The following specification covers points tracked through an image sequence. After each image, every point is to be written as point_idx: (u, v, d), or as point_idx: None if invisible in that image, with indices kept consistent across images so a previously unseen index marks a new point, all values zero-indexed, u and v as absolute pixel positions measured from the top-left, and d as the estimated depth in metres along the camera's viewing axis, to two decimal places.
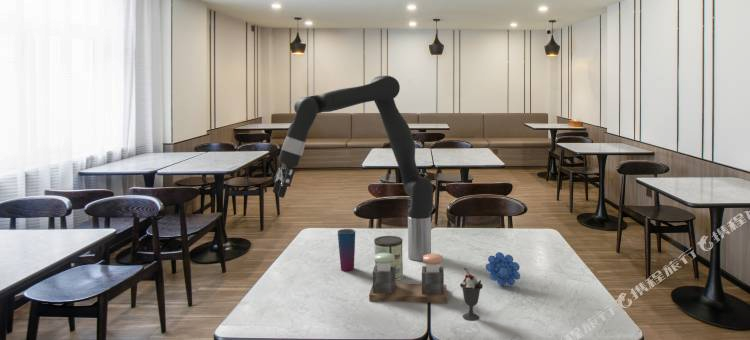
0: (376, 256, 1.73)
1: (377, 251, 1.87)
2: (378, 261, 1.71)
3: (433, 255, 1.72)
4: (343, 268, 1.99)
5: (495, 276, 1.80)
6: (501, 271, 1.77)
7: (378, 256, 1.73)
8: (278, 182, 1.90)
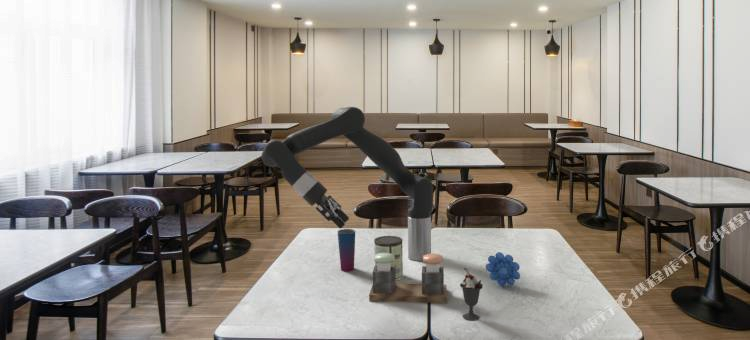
0: (376, 256, 1.73)
1: (377, 251, 1.87)
2: (378, 261, 1.71)
3: (433, 255, 1.72)
4: (343, 268, 1.99)
5: (495, 276, 1.80)
6: (501, 271, 1.77)
7: (378, 256, 1.73)
8: (338, 212, 1.77)
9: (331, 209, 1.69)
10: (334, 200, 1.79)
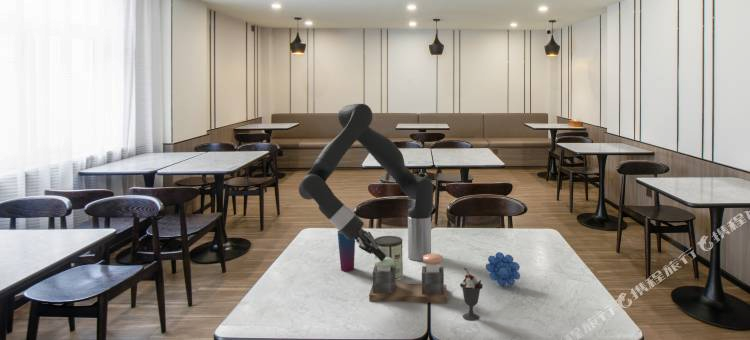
0: (376, 260, 1.73)
1: None
2: (378, 265, 1.71)
3: (433, 255, 1.72)
4: (343, 268, 1.99)
5: (495, 276, 1.80)
6: (501, 271, 1.77)
7: (378, 260, 1.73)
8: None
9: (372, 243, 1.71)
10: (372, 237, 1.77)
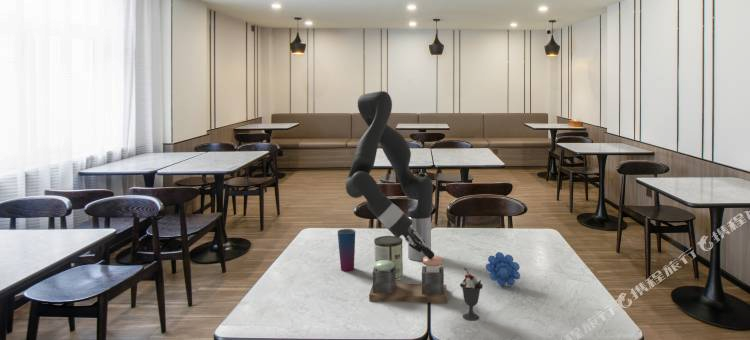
0: (376, 263, 1.73)
1: (377, 251, 1.87)
2: (378, 269, 1.71)
3: (433, 257, 1.73)
4: (343, 268, 1.99)
5: (495, 276, 1.80)
6: (501, 271, 1.77)
7: (378, 263, 1.73)
8: None
9: (421, 241, 1.69)
10: (419, 235, 1.75)
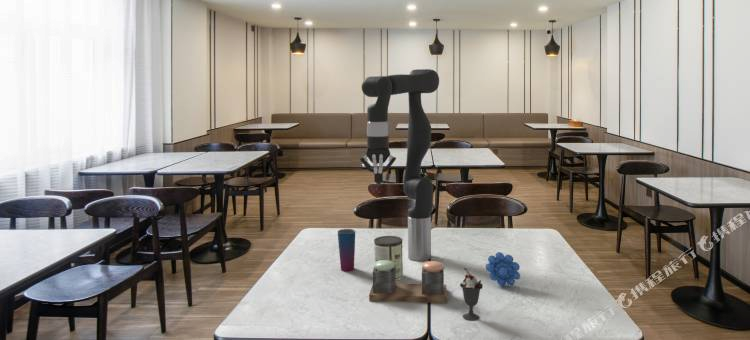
0: (376, 263, 1.73)
1: (377, 251, 1.87)
2: (378, 269, 1.71)
3: (433, 262, 1.73)
4: (343, 268, 1.99)
5: (495, 276, 1.80)
6: (501, 271, 1.77)
7: (378, 263, 1.73)
8: None
9: None
10: None
